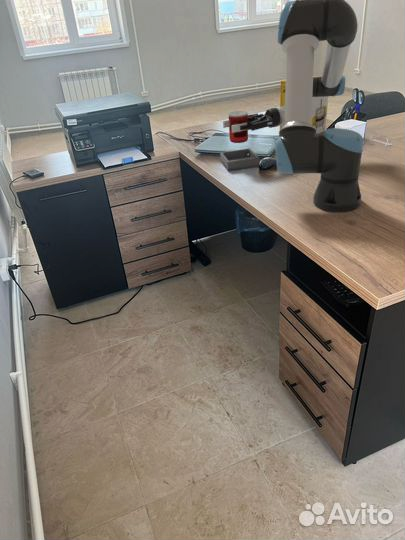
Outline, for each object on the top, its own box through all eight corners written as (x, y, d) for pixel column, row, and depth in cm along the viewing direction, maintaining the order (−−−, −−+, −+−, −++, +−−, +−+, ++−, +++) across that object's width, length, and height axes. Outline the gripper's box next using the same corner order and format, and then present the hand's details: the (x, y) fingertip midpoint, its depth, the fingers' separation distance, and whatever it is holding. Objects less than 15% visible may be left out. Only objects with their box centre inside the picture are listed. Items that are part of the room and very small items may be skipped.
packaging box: (305, 138, 194) (308, 83, 181) (279, 134, 205) (280, 81, 191) (325, 130, 203) (329, 77, 189) (299, 126, 213) (301, 75, 199)
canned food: (237, 136, 172) (236, 110, 166) (252, 139, 167) (251, 112, 161) (225, 141, 168) (224, 114, 162) (240, 144, 163) (239, 116, 157)
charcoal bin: (259, 166, 168) (259, 157, 166) (228, 171, 166) (227, 162, 164) (250, 157, 179) (249, 148, 177) (220, 161, 178) (220, 152, 175)
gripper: (289, 131, 162) (238, 142, 157) (264, 121, 179) (218, 130, 173) (290, 112, 158) (238, 122, 152) (265, 103, 175) (217, 112, 169)
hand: (227, 126), depth 163 cm, fingers closed on canned food, 8 cm apart
